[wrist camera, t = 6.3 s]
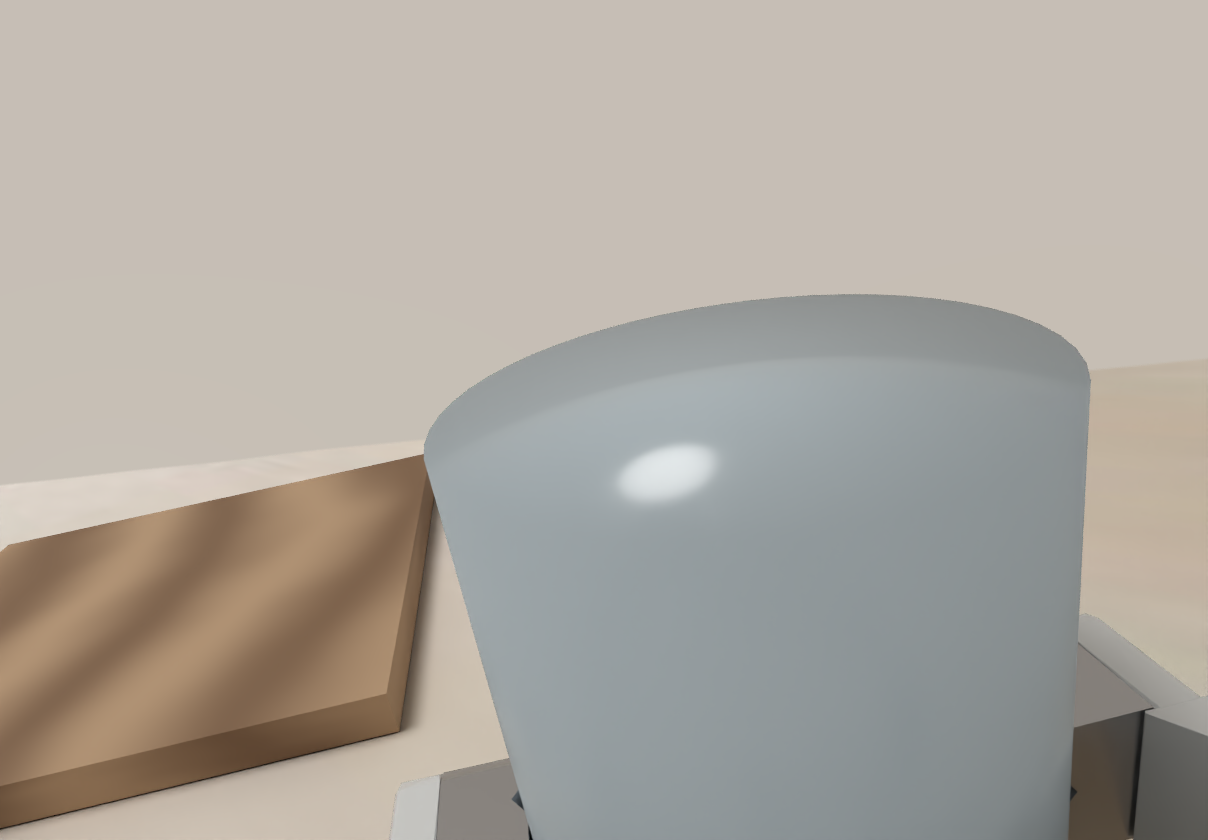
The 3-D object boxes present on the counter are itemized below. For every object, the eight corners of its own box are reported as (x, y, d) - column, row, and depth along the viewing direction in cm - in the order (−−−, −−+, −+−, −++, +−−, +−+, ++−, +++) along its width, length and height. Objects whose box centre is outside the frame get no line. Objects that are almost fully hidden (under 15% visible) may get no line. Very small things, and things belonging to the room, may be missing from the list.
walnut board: (-356, 914, 18) (-388, 878, 18) (21, 569, 33) (8, 545, 33) (399, 731, 20) (386, 693, 19) (436, 477, 35) (430, 452, 34)
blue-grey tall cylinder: (676, 1497, 8) (385, 627, 4) (603, 972, 13) (441, 360, 9) (1164, 1342, 8) (1311, 411, 5) (909, 889, 14) (876, 269, 10)
